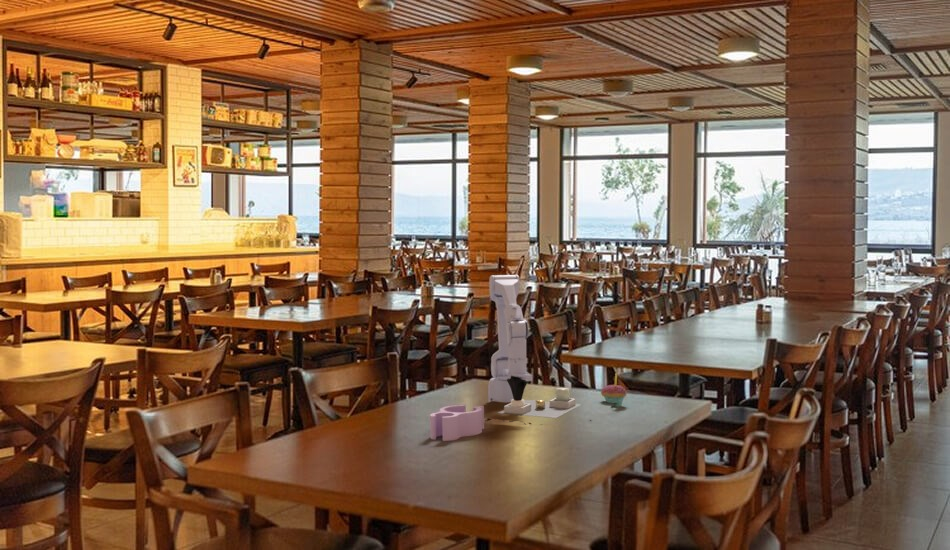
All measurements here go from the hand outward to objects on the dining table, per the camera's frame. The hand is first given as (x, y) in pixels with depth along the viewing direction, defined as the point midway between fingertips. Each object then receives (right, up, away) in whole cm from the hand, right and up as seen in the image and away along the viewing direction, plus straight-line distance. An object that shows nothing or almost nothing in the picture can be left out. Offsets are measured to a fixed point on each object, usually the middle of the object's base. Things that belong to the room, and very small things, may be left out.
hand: (517, 400), depth 317 cm
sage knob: (+15, -1, +8) cm, 17 cm away
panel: (+8, -5, +5) cm, 10 cm away
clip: (-19, -7, -24) cm, 32 cm away
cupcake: (+33, -4, +16) cm, 37 cm away
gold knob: (+8, -3, +4) cm, 9 cm away
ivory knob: (0, -3, 0) cm, 3 cm away
